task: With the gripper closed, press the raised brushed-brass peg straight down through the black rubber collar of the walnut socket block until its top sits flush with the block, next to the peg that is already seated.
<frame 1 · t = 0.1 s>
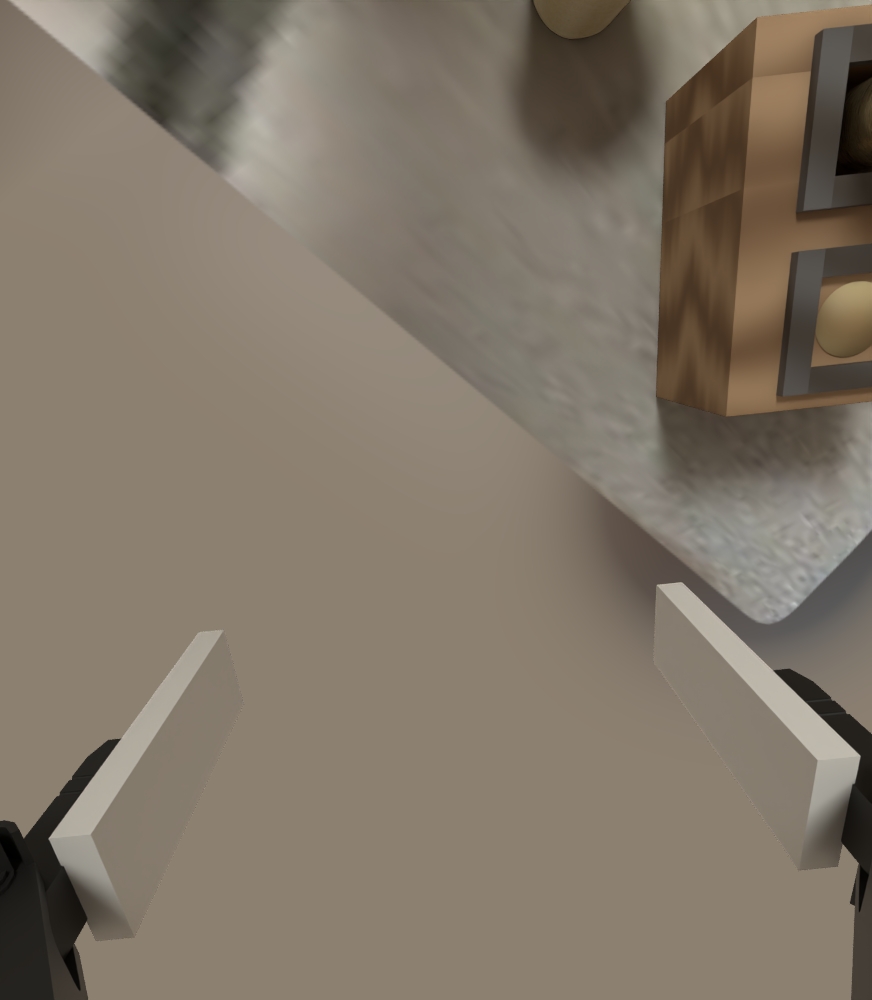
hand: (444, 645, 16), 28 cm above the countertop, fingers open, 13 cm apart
socket block: (754, 251, 38), on the countertop
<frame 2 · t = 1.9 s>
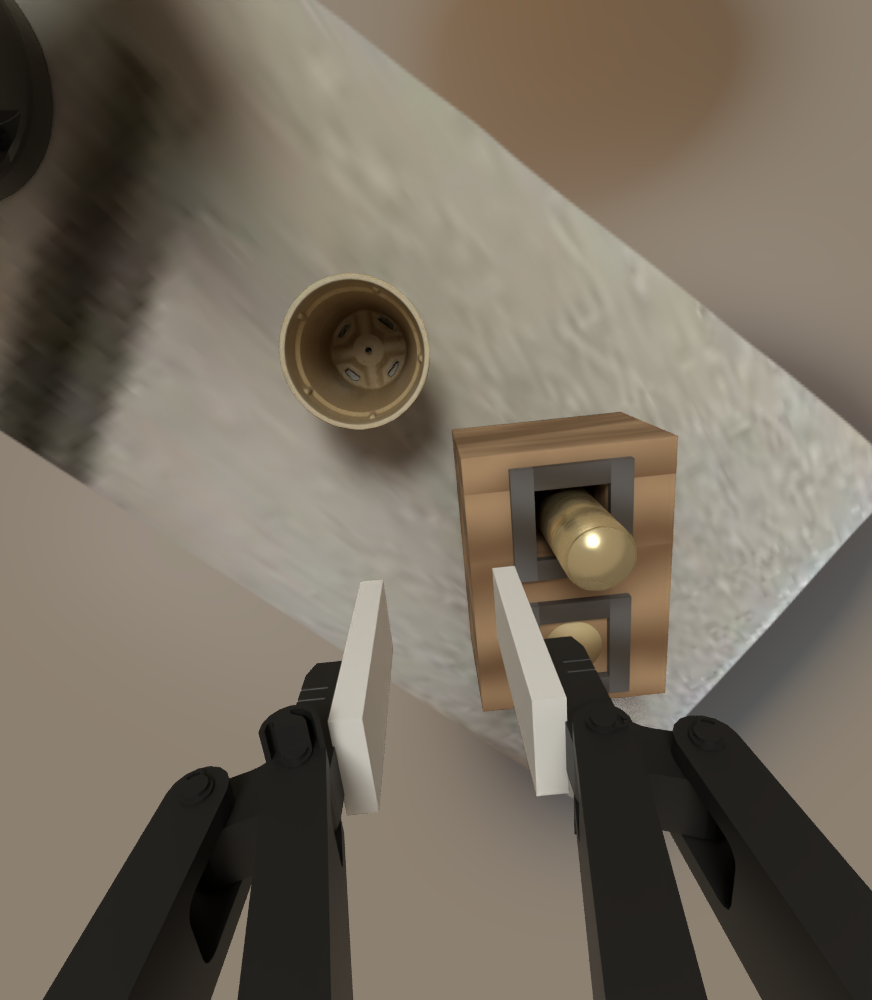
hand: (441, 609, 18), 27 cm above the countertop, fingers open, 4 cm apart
flower pot: (368, 349, 41), on the countertop
socket block: (540, 532, 46), on the countertop
peg: (579, 531, 33), point 12 cm above the countertop, slide at 6.0 cm
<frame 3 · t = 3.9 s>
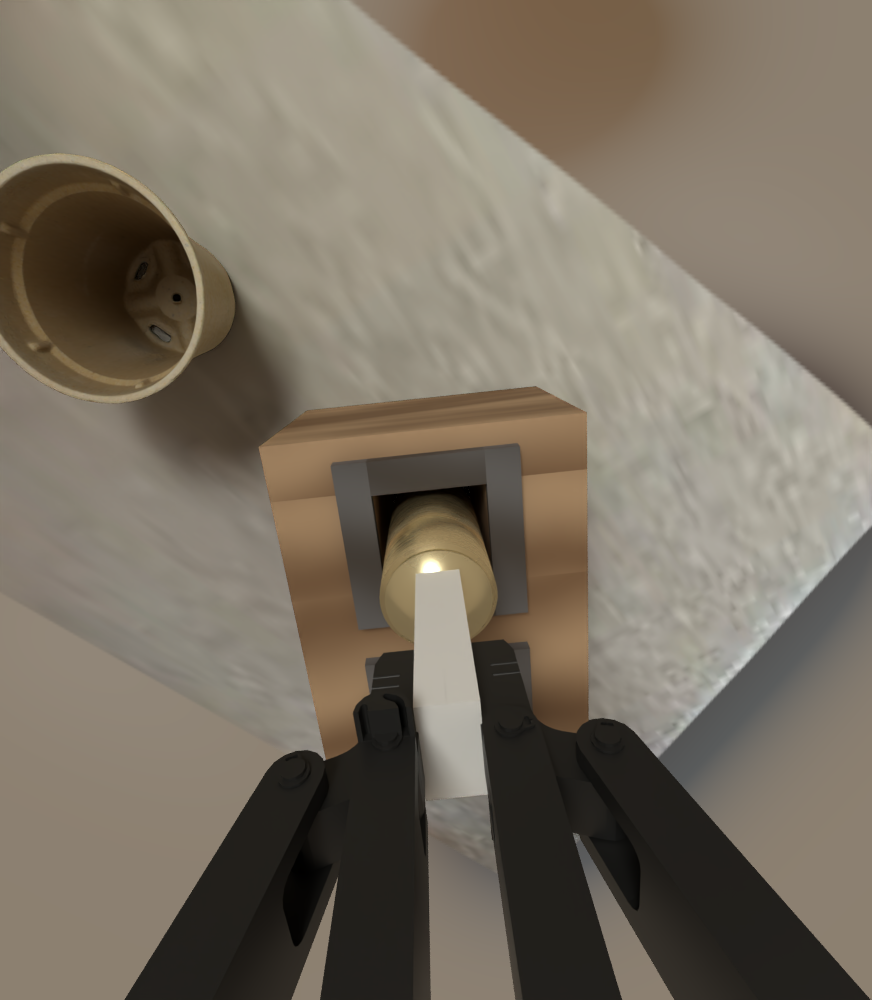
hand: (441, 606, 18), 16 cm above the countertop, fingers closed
flower pot: (181, 298, 29), on the countertop
socket block: (437, 548, 35), on the countertop
peg: (435, 552, 22), point 12 cm above the countertop, slide at 5.4 cm, touching gripper
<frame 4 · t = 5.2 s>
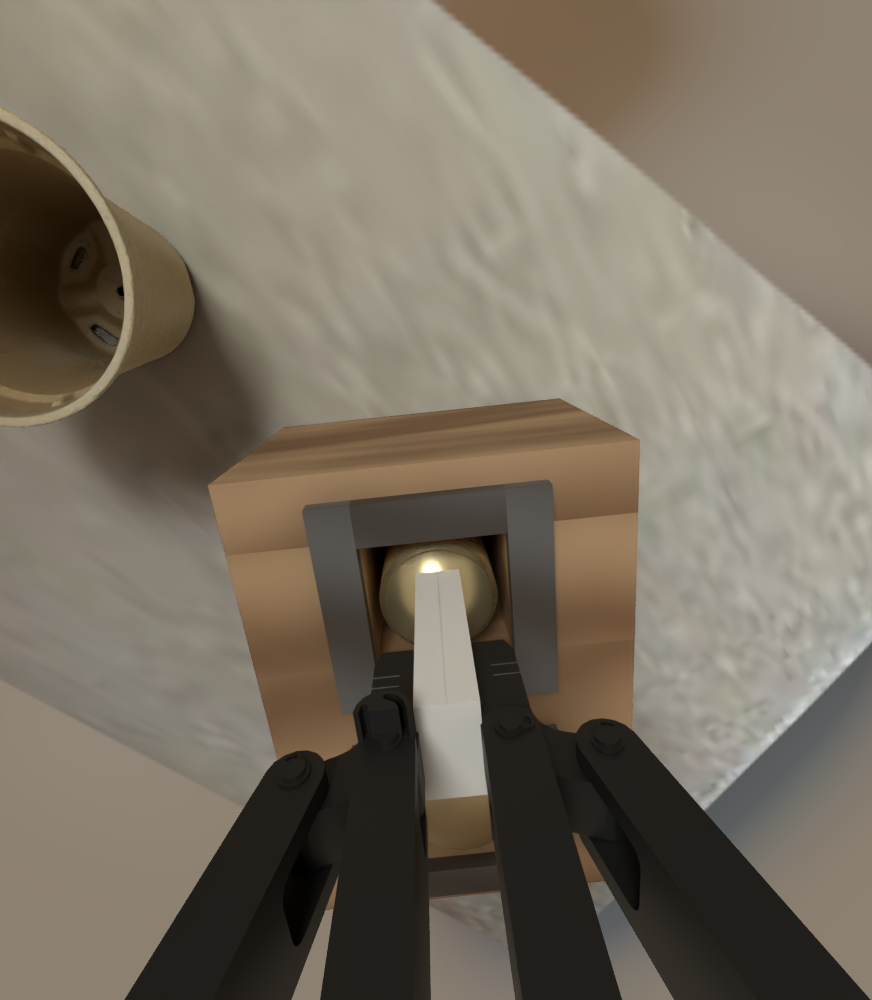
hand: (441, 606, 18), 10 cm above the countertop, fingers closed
flower pot: (129, 292, 24), on the countertop
socket block: (441, 588, 29), on the countertop
peg: (435, 552, 22), point 6 cm above the countertop, slide at -0.1 cm, touching gripper
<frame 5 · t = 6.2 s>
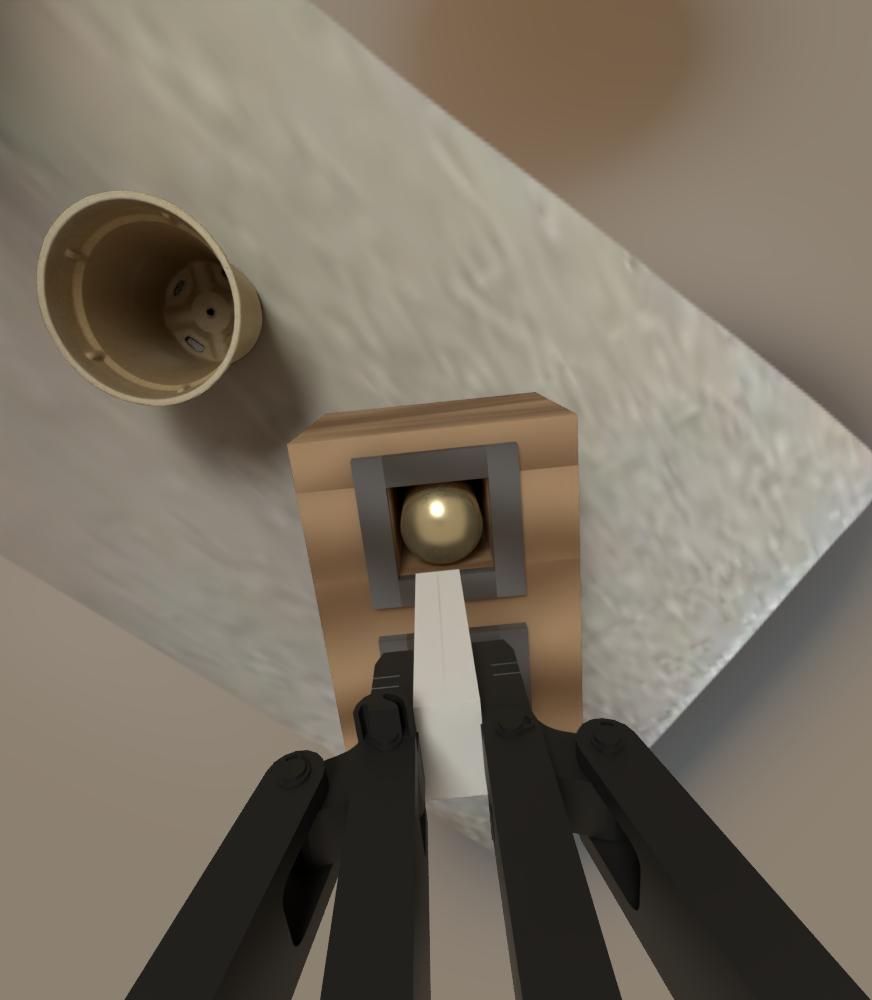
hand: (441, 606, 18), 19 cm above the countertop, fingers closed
flower pot: (213, 312, 32), on the countertop
socket block: (444, 542, 37), on the countertop
peg: (439, 502, 30), point 6 cm above the countertop, slide at -0.1 cm
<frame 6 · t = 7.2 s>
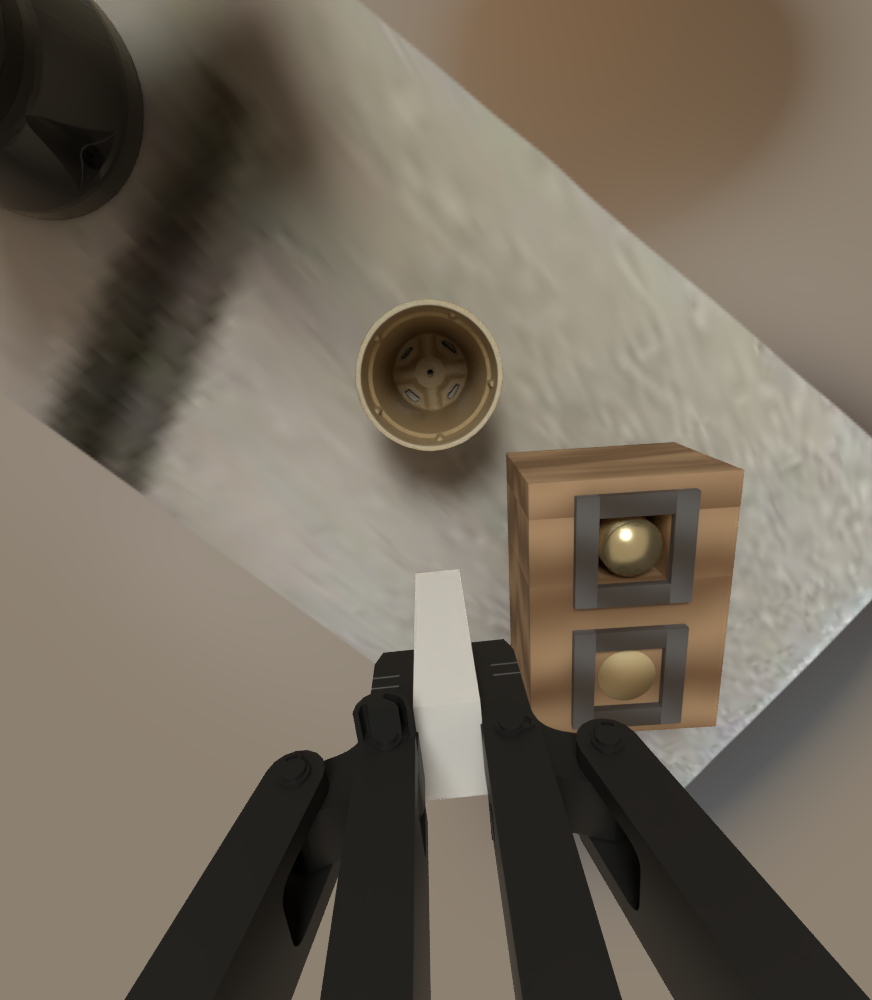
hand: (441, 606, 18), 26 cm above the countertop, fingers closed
flower pot: (429, 371, 41), on the countertop
socket block: (587, 558, 46), on the countertop
peg: (612, 528, 39), point 6 cm above the countertop, slide at -0.1 cm
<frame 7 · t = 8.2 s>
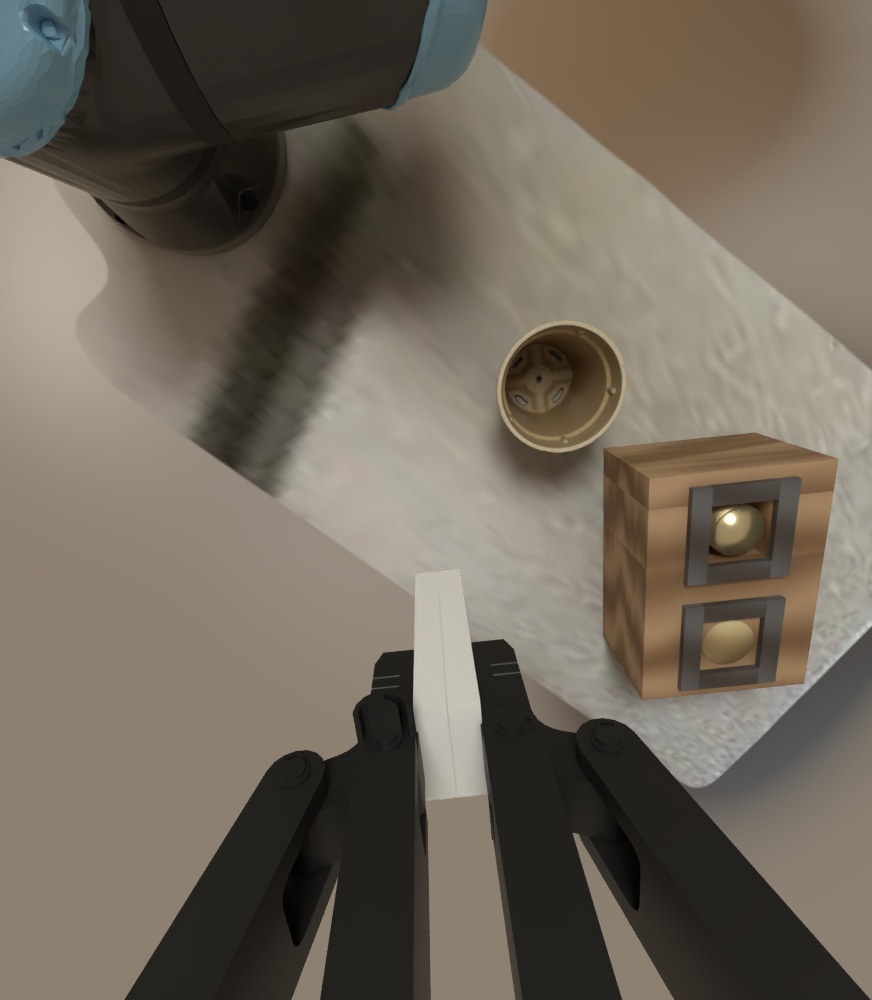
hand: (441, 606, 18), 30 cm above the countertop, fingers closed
flower pot: (535, 378, 46), on the countertop
socket block: (674, 540, 51), on the countertop
peg: (710, 513, 43), point 6 cm above the countertop, slide at -0.1 cm
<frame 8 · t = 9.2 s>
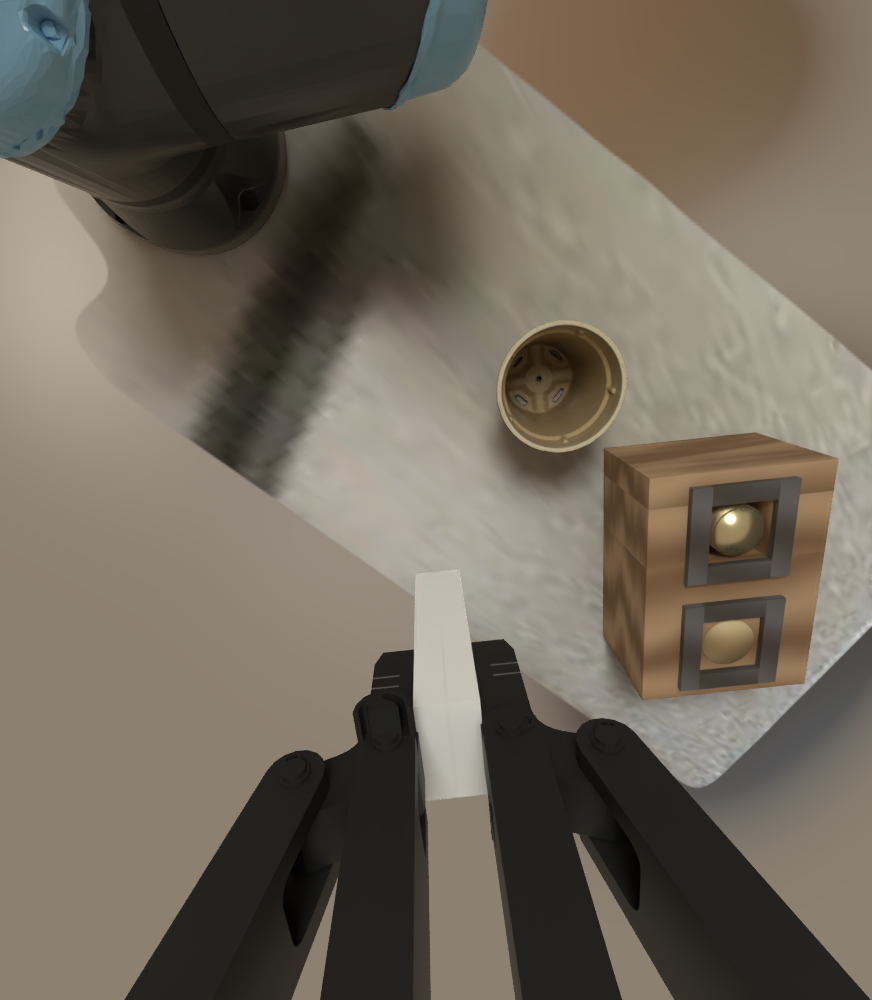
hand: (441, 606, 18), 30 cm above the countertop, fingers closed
flower pot: (535, 377, 46), on the countertop
socket block: (674, 540, 51), on the countertop
peg: (710, 513, 43), point 6 cm above the countertop, slide at -0.1 cm
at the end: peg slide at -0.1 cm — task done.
